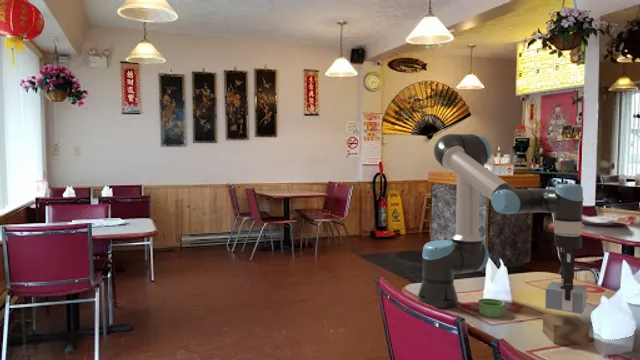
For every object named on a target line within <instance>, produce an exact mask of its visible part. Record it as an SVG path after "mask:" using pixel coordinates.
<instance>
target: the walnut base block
mask: <svg viewBox="0 0 640 360" xmlns="http://www.w3.org/2000/svg"><path fill="white" fill-rule="evenodd" d="M542 333H543V334H544V335H545V336H546V338H547V339H548V340H549V341H550V342H551V341H552V342H553V343H554V344H553V343H552V342H551V343H552V344H553V345H566V346H567V345H568V346H584V345H586V346H588V345H589V346H590V326H589V325H588V324H587V323H586V322H584V320H582V319H581V318H580V317H578V316H577V315H566V314H546V313H545V314H542Z"/></svg>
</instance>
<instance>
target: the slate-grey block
mask: <svg viewBox="0 0 640 360" xmlns="http://www.w3.org/2000/svg"><path fill="white" fill-rule="evenodd" d="M566 285H570V284H566ZM561 286H563V283H561V282H557V281H551V282H550V283H549V284H548V285H547V286H546V288H545V307H544V308H545V309H549V310H554V311H562V312H566V313H573V314H579V315H584V312H585V309H586V307H587V293H588V292H587V291H588V290H587V286H585V285H581V284H580V285H577V284H573V286H574V288H573V304H572V311H564V310H562V291H563V289H560V287H561Z"/></svg>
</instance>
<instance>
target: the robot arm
mask: <svg viewBox="0 0 640 360" xmlns="http://www.w3.org/2000/svg"><path fill="white" fill-rule="evenodd" d="M433 155H434V158H435V160H436V161H437V163H439V165H440V166H442V167H443V168H444V169H445V170H448V171H451V170H452V171H453V172H454V173H455V174H456V202H455V203H456V205H455V207H456V209H455V211H456V213H455V217H456V218H455V234H454V235H453V236H452V237H451V240H449V239H448V240H447V239H441V240H439V239H437V240H436V239H435V240H432V241H428V242H426V243H425V244H424V245H423V247H422V255H421V256H422V283H421V285H420V288H419V291H418V293H417V300H419V301H421V302H423V303H426V304H429V305H432V306H435V307H437V308H436V309H452V308H454V307H457V306H458V305H459V297H458V294H457V290H456V287H455V285H454V279H455V278H454V277H455V276H454V275H457V274H458V275H459V274H465V273H467V274H468V273H475V272H480V271H482V270H483V269H484V268H486V266H487V265H488V262H489V258H490V255H489V249H487V245H486V244H485V243H484V242H483V237H481V235H479V231H480V230H479V229H480V227H479V226H480V224H479V223H480V193H481V194H483V195H484V197H487V198H488V199H489V200H490V201H491V206H492V208H493V210H494V211H495V212H496V213H497V214H502V215H516V214H528V213H531V214H532V213H549V214H554V226H553V227H554V228H553V230H554V233H555V234H554V239H553V241H554V246H555V247H556V248H561V251H560V252H559V257H560V264H561V272H560V275H561V277H560V278H561V279H560V280H561V281H560V283H563V286H561V287H560V289H563V291H562V310H564V311H563V312H566V311H572V304H573V288H574V286H573V285H574V268H575V259H576V254H575V252H573V250H576V249H577V250H578V249H579V250H580V249H581V248H582V246H583V237H582V234H583V228H585V223H583V206H584V191H583V190H584V189H583V186H582V185H581V184H578V183H577V184H576V183H557V184H556V185H555V189H549V188H548V189H547V188H541V187H540V188H539V187H532V188H531V187H530V188H529V187H528V188H527V189H526V188H525V189H524V188H520V189H518V188H516V187H514V186H512V185H511V184H509V183H508V182H506V181H505V180H503V179H502V178H501V177H500V176H498V175H497V174H495V173H494V172H492V171H491V170H489V169H488V168H486V166H485V164H487V163H488V162H489V161H490V159H491V157H492V148H491V145H490V143H489V140H487V138H486V137H484V136H483V135H479V134H473V133H471V134H469V133H468V134H465V133H464V134H462V133H461V134H460V133H459V134H458V133H457V134H456V133H448V134H444V135H442V136H441V137H440V138H438V139H437V141H436V142H435V144H434V148H433ZM566 284H570V285H566Z"/></svg>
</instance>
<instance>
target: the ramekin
mask: <svg viewBox="0 0 640 360" xmlns="http://www.w3.org/2000/svg"><path fill="white" fill-rule="evenodd" d="M477 303H478V309H479V311H478V312H479V314H480V315H482V316H483V317H488V318H500V317H502V316H504V312H505V305H506V304H505V302H504V301H502V300H500V299H496V298H495V299H494V298H480V299H478V301H477Z"/></svg>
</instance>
